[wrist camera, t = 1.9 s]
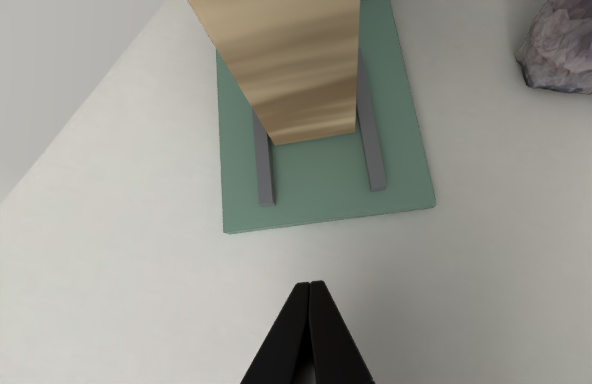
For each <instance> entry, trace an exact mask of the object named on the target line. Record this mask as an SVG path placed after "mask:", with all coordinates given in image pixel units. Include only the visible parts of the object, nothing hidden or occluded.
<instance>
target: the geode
mask: <svg viewBox="0 0 592 384" xmlns="http://www.w3.org/2000/svg"><path fill="white" fill-rule="evenodd" d="M515 57H516V61H517V62H518V63H519V64H520V65H521V66H522V70H523V76H524V79H525V82H526V85H527V86H528V87H533V88H542V89H549V90H553V91H557V92H564V93H582V94H592V0H547V1H546V3H545V4H544V5H543V7H542V8H541V10H540V11H539V13H538V15H537V16H536V18H535V19H534V21H533V23H532V25H531V27H530V30H529V33H528V35H527V37H526V39H525V41H524V43H523V44H522V46H521V47H520V49H519V50H518V52H517V53H516V54H515Z"/></svg>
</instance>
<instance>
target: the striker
mask: <svg viewBox="0 0 592 384" xmlns="http://www.w3.org/2000/svg"><path fill="white" fill-rule="evenodd" d="M188 2H189V4H190V6H191V7H192V9H193V11H194V12H195V14H196V16H197V17H198V19H199V21H200V22H201V24H202V26H203V27H204V29H205V31H206V32H207V34H208V36H209V37H210V39H211V41H212V42H213V44H214V45H215V47H216V49H217V50H218V52H219V54H220V55H221V57H222V59H223V60H224V62H225V64H226V65H227V67H228V69H229V70H230V72H231V74H232V75H233V77H234V79H235V80H236V82H237V84H238V85H239V87H240V89H241V90H242V92H243V94H244V95H245V97H246V99H247V100H248V102H249V104H250V105H251V107H252V108H253V110H254V112H255V113H256V115H257V117H258V118H259V120H260V122H261V123H262V125H263V127H264V128H265V130H266V132H267V133H268V135H269V137H270V138H271V140H272V142H273V143H274V145H275V146H276V145H282V144H288V143H294V142H300V141H306V140H312V139H318V138H324V137H330V136H336V135H342V134H348V133H354V132H355V119H356V92H357V66H358V39H359V12H360V0H188Z"/></svg>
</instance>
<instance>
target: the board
mask: <svg viewBox="0 0 592 384" xmlns="http://www.w3.org/2000/svg"><path fill="white" fill-rule="evenodd" d="M216 62H217V86H218V110H219V135H220V159H221V183H222V207H223V231H224V233H226V234H235V233H242V232H250V231H258V230H265V229H273V228H281V227H288V226H296V225H304V224H311V223H319V222H327V221H334V220H342V219H350V218H357V217H365V216H372V215H380V214H388V213H395V212H403V211H411V210H418V209H426V208H433V207H434V206H436V205H437V204H436V200H435V196H434V191H433V187H432V183H431V178H430V174H429V170H428V165H427V161H426V157H425V152H424V148H423V144H422V139H421V135H420V131H419V126H418V122H417V118H416V113H415V109H414V105H413V100H412V96H411V92H410V87H409V83H408V79H407V74H406V70H405V66H404V61H403V57H402V53H401V48H400V44H399V40H398V35H397V31H396V27H395V22H394V18H393V14H392V9H391V5H390V1H389V0H368V2H364V3H360V12H359V39H358V66H357V92H356V119H355V132H354V133H348V134H342V135H336V136H330V137H324V138H318V139H312V140H306V141H300V142H294V143H288V144H282V145H276V146H275V145H274V143H273V142H272V140H271V138H270V137H269V135H268V133H267V132H266V130H265V128H264V127H263V125H262V123H261V122H260V120H259V118H258V117H257V115H256V113H255V112H254V110H253V108H252V107H251V105H250V104H249V102H248V100H247V99H246V97H245V95H244V94H243V92H242V90H241V89H240V87H239V85H238V84H237V82H236V80H235V79H234V77H233V75H232V74H231V72H230V70H229V69H228V67H227V65H226V64H225V62H224V60H223V59H222V57H221V55H220V54H219V52H218V50H217V49H216Z"/></svg>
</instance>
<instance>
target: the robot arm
mask: <svg viewBox="0 0 592 384" xmlns="http://www.w3.org/2000/svg"><path fill="white" fill-rule="evenodd" d="M240 384H375V382H374V381H373V378H372V376H371V374H370V372H369V370H368V368H367V366H366V364H365V362H364V360H363V358H362V356H361V354H360V352H359V350H358V348H357V346H356V344H355V342H354V340H353V338H352V336H351V334H350V332H349V330H348V328H347V326H346V324H345V322H344V320H343V318H342V316H341V314H340V312H339V310H338V308H337V306H336V304H335V302H334V300H333V298H332V296H331V294H330V292H329V290H328V288H327V286H326V284H325V282H324V281H322V280H320V281H312V282H311V283H309V282H301V283H297V284H296V285H295V286H294V288H293V290H292V292H291V294H290V295H289V297H288V299H287V301H286V302H285V304H284V306H283V308H282V310H281V311H280V313H279V315H278V317H277V319H276V320H275V322H274V324H273V326H272V328H271V329H270V331H269V333H268V335H267V336H266V338H265V340H264V342H263V344H262V345H261V347H260V349H259V351H258V353H257V354H256V356H255V358H254V360H253V362H252V363H251V365H250V367H249V369H248V370H247V372H246V374H245V376H244V378H243V379H242V381H241V383H240Z"/></svg>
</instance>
